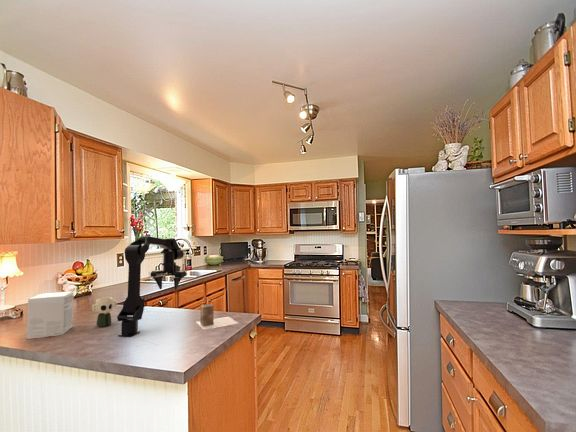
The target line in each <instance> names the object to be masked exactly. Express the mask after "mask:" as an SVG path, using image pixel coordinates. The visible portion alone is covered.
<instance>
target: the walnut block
mask: <svg viewBox="0 0 576 432" xmlns="http://www.w3.org/2000/svg"><path fill="white" fill-rule="evenodd" d="M214 309H215V308H214V305H213V304H212V303H208V304H201V305H200V316H199V317H200V320H199V321H200V324H201V325H202V326H203V327H204V326H210V325H214V319H215V317H214V315H215V314H214V313H215V312H214Z"/></svg>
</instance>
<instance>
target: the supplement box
mask: <svg viewBox="0 0 576 432" xmlns="http://www.w3.org/2000/svg"><path fill="white" fill-rule="evenodd" d="M73 307H74V290H72V291H71V290H70V291H59V292H46V293H45V292H44V293H39V294H37V295H34V296H32V297H30V298H27V320H26V322H27V323H26V338H25V339H26V340H30V339H31V340H32V339H40V338H47V337H49V336H50V337H55V336H56V337H57V336H58V337H59V336H63V335H64V334H65V333H67V332H68V331H69V330H70V329H71V328H73V316H74V315H73V314H74V313H73V312H74V311H73V310H74V308H73Z"/></svg>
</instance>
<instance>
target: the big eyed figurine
mask: <svg viewBox="0 0 576 432" xmlns="http://www.w3.org/2000/svg"><path fill="white" fill-rule="evenodd" d="M115 307H117V300H114V298H113V297H102V298H97V299H96V300H95V304H92V306H91V311H92V312H95V313H96V314H98V315H97V317H96V318H97V319H96V326H98V327H106V326H110V325H112V316H111V313H110V312H112V311H113V309H114V308H115Z"/></svg>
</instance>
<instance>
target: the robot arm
mask: <svg viewBox="0 0 576 432" xmlns="http://www.w3.org/2000/svg"><path fill="white" fill-rule="evenodd" d="M150 246H158V247H159V248H161V249H162V251H160V254H162V256H163V257H162V263H161V266H162V269H156V270H152V271H151V272H150V275H149V276H150V277H152V279H154V281H155V283H156V284H157V286H158V289H159V290H162V289H163V288H162V287H163V279H164V276H173V284H174V290H175V291H176V290H177V289H178V287H179V285H180V282H181V280H182V279H184V278H185V277H186V276H187V271H186V270H181V266H179V265H177V262H176V260H180V259H181V260H182V259H183V258H184V255H185V253H184V250H182V247H180V246H179V244H178V242H177V240H176V238H175V237H174V238H172V237H171V238H170V237H169V238H167V237H166V238H160V237H155V236H150V235H141V236H139V237H138V239H135V240H134V241H132V242H131V243H130V244H129V245H127V246H126V247H125V248H124V258H125V261H126V263H127V264H128V276H127V281H128V282H127V296H126V298H125V299H124V301H123V304H122V309H121V310H120V312H119V313H118V315H117V316H116V319H117V322H121V329H120V330H121V333H119V334H117V336H118V337H133V336H135V335H137V334H139V333H141V330H138V329H139V328H138V326H139V321H140V320H142V319H143V314H144V310H145V307H146V305H145V302H146V301H145V300H146V299H145V298H144V297H142V296H141V270H142V268H141V267H142V263H143V262H144V260H145V258H146V253H147V252H148V251H149V249H150Z"/></svg>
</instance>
